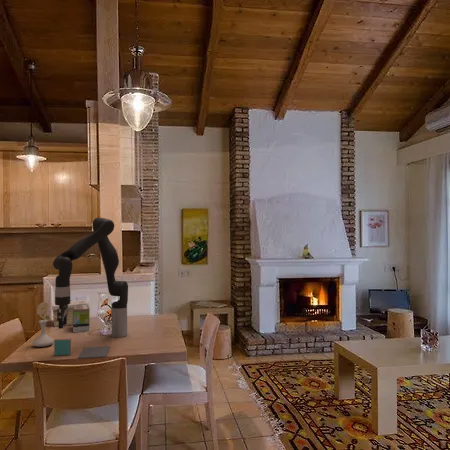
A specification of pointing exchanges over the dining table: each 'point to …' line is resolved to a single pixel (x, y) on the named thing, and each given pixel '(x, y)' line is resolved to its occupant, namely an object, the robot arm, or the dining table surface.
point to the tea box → (81, 318)
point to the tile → (62, 346)
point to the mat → (94, 352)
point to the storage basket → (70, 311)
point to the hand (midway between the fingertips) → (62, 326)
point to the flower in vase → (43, 327)
